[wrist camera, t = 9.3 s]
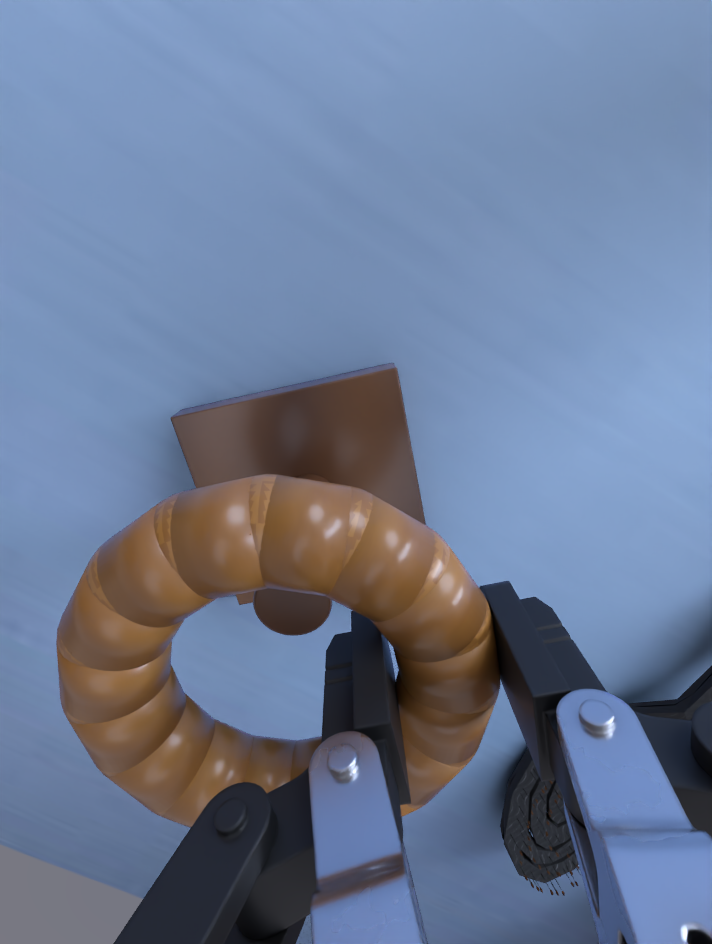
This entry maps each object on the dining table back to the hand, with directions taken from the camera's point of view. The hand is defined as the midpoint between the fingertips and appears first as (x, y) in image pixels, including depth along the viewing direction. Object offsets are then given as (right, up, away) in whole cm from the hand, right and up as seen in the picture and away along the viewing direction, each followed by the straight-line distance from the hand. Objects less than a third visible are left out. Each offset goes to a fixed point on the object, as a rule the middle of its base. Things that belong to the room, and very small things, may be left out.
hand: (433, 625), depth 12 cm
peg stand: (-4, +3, +11) cm, 12 cm away
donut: (-4, -1, -1) cm, 4 cm away
